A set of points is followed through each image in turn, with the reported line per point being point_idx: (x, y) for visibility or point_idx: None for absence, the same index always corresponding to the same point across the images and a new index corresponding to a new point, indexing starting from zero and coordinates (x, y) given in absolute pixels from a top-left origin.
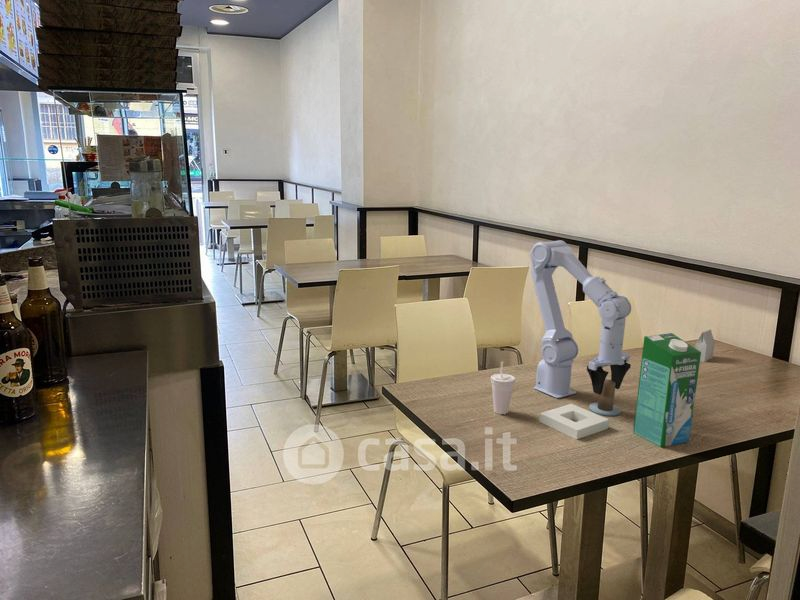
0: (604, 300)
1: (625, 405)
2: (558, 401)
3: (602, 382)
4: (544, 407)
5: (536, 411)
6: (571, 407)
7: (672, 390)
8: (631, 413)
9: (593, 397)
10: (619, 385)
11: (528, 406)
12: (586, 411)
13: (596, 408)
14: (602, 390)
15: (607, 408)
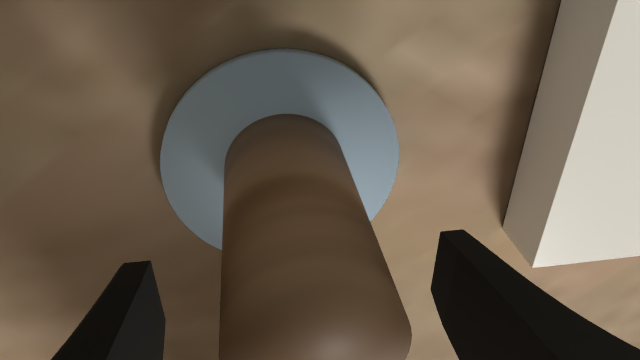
0: None
1: (33, 155)
2: (414, 344)
3: (567, 324)
4: None
5: (624, 295)
6: (599, 224)
7: None
8: (115, 10)
9: (170, 327)
10: (132, 287)
11: None
12: (597, 132)
13: None
14: (460, 253)
15: (322, 133)
